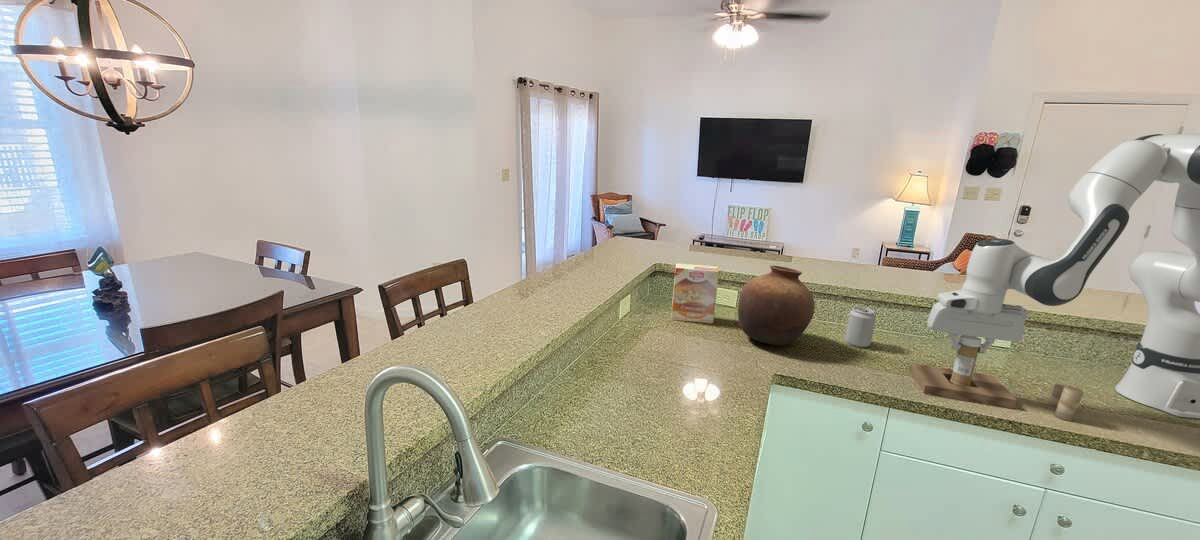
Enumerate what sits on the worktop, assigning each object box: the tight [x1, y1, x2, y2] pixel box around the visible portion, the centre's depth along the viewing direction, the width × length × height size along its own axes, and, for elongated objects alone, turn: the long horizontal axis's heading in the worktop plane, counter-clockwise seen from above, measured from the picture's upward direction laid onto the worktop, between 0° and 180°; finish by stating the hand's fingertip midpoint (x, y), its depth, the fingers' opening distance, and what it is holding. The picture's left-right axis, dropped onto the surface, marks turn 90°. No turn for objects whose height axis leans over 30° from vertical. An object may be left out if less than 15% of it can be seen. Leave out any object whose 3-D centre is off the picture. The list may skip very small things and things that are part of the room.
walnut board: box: [908, 362, 1018, 410], centre depth 130 cm, size 20×14×2 cm
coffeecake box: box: [670, 262, 720, 324], centre depth 172 cm, size 15×7×20 cm, turn 81°
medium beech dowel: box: [1054, 385, 1084, 422], centre depth 117 cm, size 3×3×8 cm
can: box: [844, 306, 877, 349], centre depth 156 cm, size 8×8×12 cm
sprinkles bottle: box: [950, 335, 983, 386], centre depth 128 cm, size 5×5×14 cm
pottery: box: [737, 264, 816, 346], centre depth 154 cm, size 23×23×25 cm
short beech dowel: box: [1048, 383, 1066, 408], centre depth 123 cm, size 3×3×5 cm
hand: (968, 350), depth 127 cm, fingers closed on sprinkles bottle, 4 cm apart
